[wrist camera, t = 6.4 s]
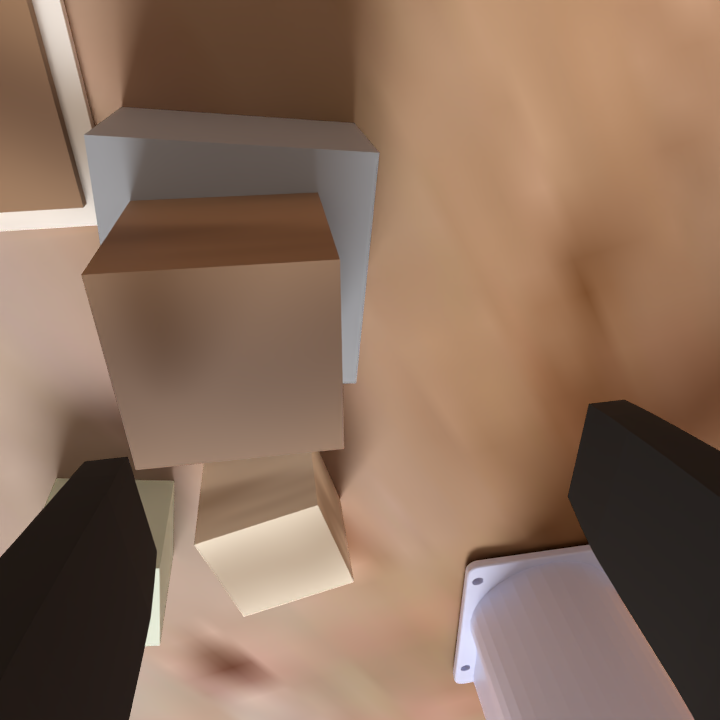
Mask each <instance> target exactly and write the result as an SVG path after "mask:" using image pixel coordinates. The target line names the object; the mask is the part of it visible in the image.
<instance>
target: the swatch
mask: <svg viewBox="0 0 720 720" xmlns="http://www.w3.org/2000/svg"><path fill="white" fill-rule="evenodd" d="M92 128H94V123H93V118H92V114H91V110H90V106H89V102H88V98H87V94H86V90H85V86H84V82H83V78H82V74H81V70H80V66H79V62H78V57H77V53H76V49H75V45H74V41H73V37H72V33H71V29H70V25H69V21H68V17H67V13H66V9H65V5H64V1H63V0H0V231H15V230H31V229H47V228H63V227H78V226H94V225H97V219H96V212H95V206H94V199H93V192H92V186H91V179H90V172H89V166H88V159H87V153H86V146H85V139H84V134H86V133H87V132H88V131H90V130H91V129H92Z"/></svg>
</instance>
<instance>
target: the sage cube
mask: <svg viewBox="0 0 720 720" xmlns="http://www.w3.org/2000/svg"><path fill="white" fill-rule="evenodd" d="M69 479H70V478H56V480H55V483H54V485H53V488H52V490H51V492H50V495H49V497H48V500H47V502H46V504H45V506H46V505H47V504H48V503H49V501H50V500H51V499H52V498H53V497H54V496H55V495H56V493H57V492H58V491H59V490H60V489H61V488H62V487H63V485H64V484H65V483H66V482H67V481H68V480H69ZM135 482H136V485H137V488H138V491H139V495H140V498H141V501H142V504H143V507H144V511H145V514H146V517H147V520H148V523H149V527H150V530H151V533H152V536H153V540H154V543H155V546H156V549H157V559H156V571H155V583H154V593H153V602H152V612H151V619H150V624H149V629H148V634H147V639H146V643H145V646H160V642H161V635H162V628H163V621H164V615H165V608H166V601H167V594H168V587H169V581H170V574H171V567H172V560H173V542H174V481H167V480H135Z"/></svg>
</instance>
